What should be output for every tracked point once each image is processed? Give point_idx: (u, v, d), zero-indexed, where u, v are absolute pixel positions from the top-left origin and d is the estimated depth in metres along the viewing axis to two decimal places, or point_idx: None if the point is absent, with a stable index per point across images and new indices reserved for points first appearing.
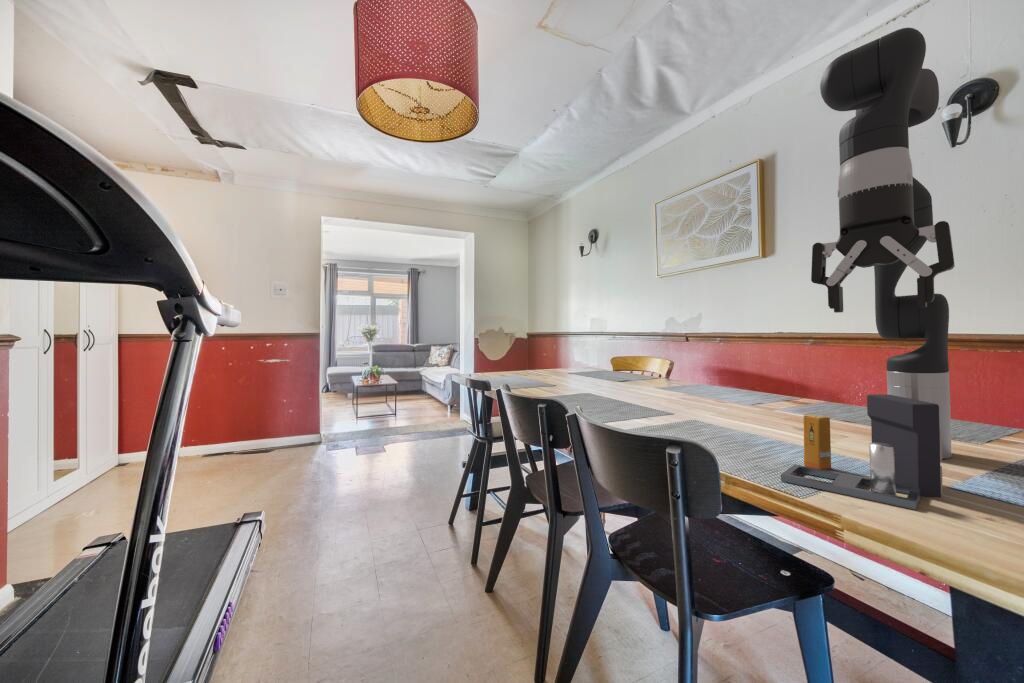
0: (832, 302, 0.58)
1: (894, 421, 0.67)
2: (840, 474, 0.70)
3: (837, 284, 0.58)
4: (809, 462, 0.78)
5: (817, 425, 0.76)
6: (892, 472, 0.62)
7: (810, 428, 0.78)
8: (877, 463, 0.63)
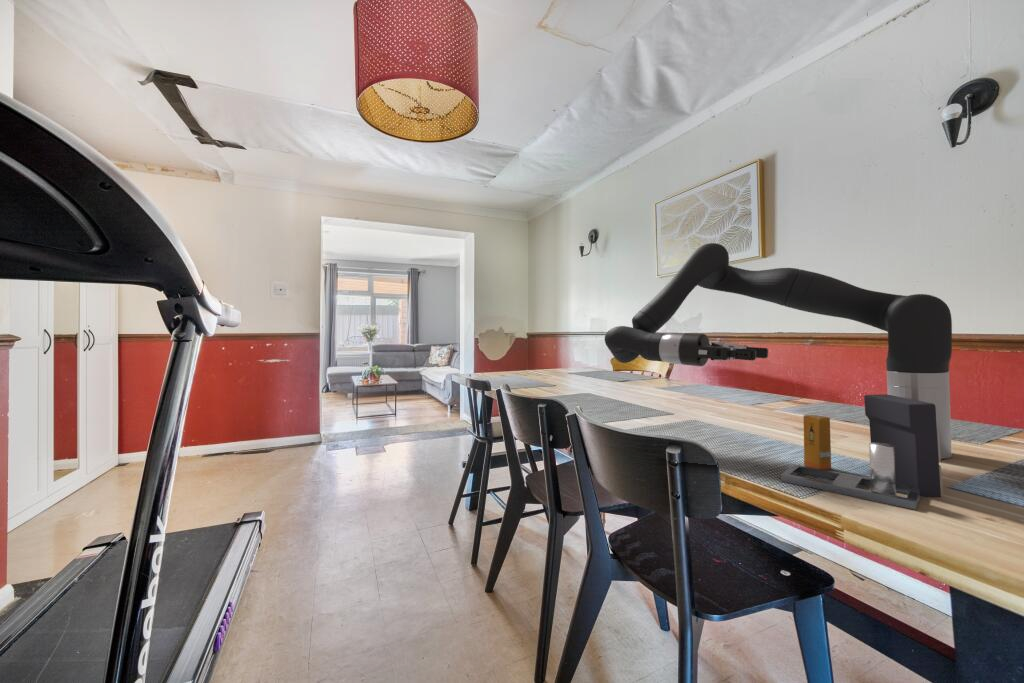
0: None
1: (892, 421, 0.67)
2: (840, 474, 0.70)
3: None
4: (809, 462, 0.78)
5: (817, 425, 0.76)
6: (892, 472, 0.62)
7: (810, 428, 0.78)
8: (877, 463, 0.63)
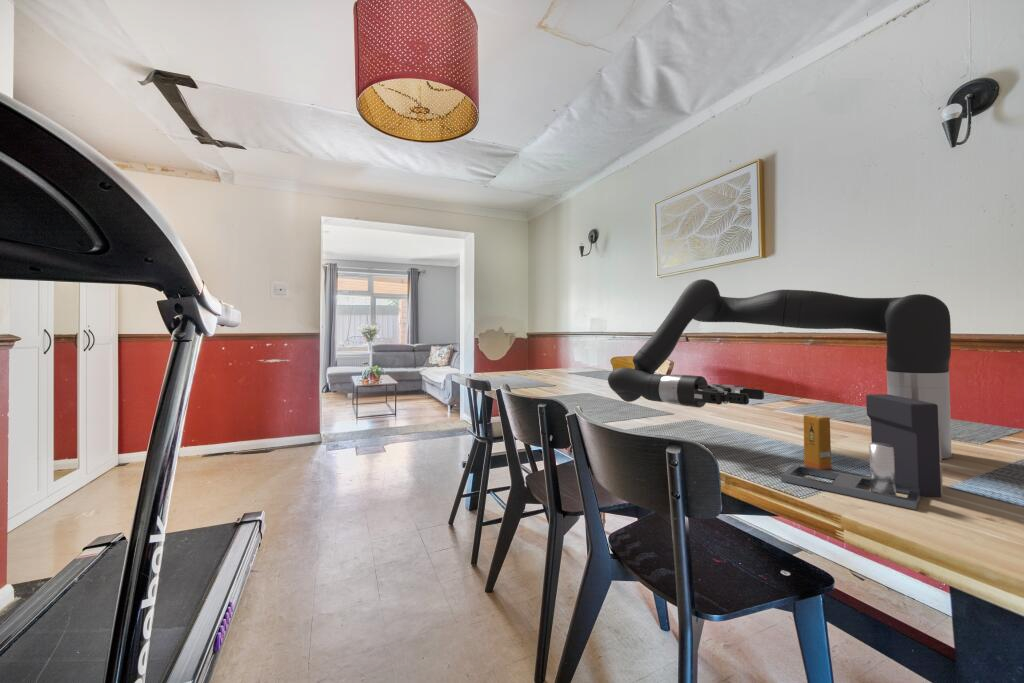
0: None
1: (893, 421, 0.67)
2: (840, 474, 0.70)
3: None
4: (809, 462, 0.78)
5: (817, 425, 0.76)
6: (892, 472, 0.62)
7: (810, 428, 0.78)
8: (877, 463, 0.63)
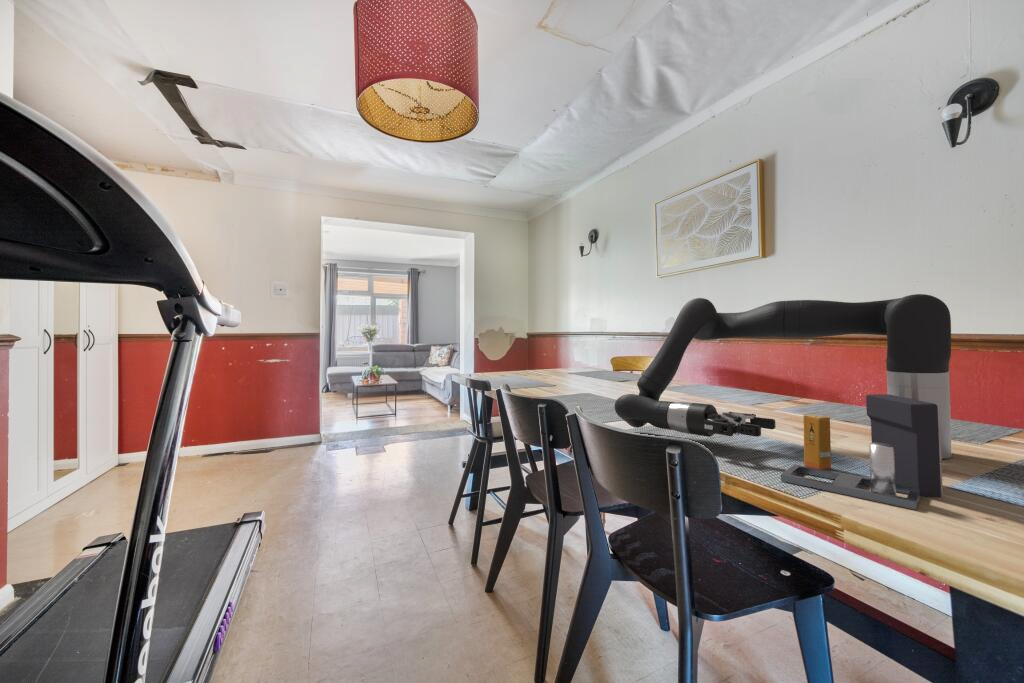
0: None
1: (893, 421, 0.67)
2: (840, 474, 0.70)
3: (754, 425, 0.90)
4: (809, 462, 0.78)
5: (817, 425, 0.76)
6: (892, 472, 0.62)
7: (810, 428, 0.78)
8: (877, 463, 0.63)
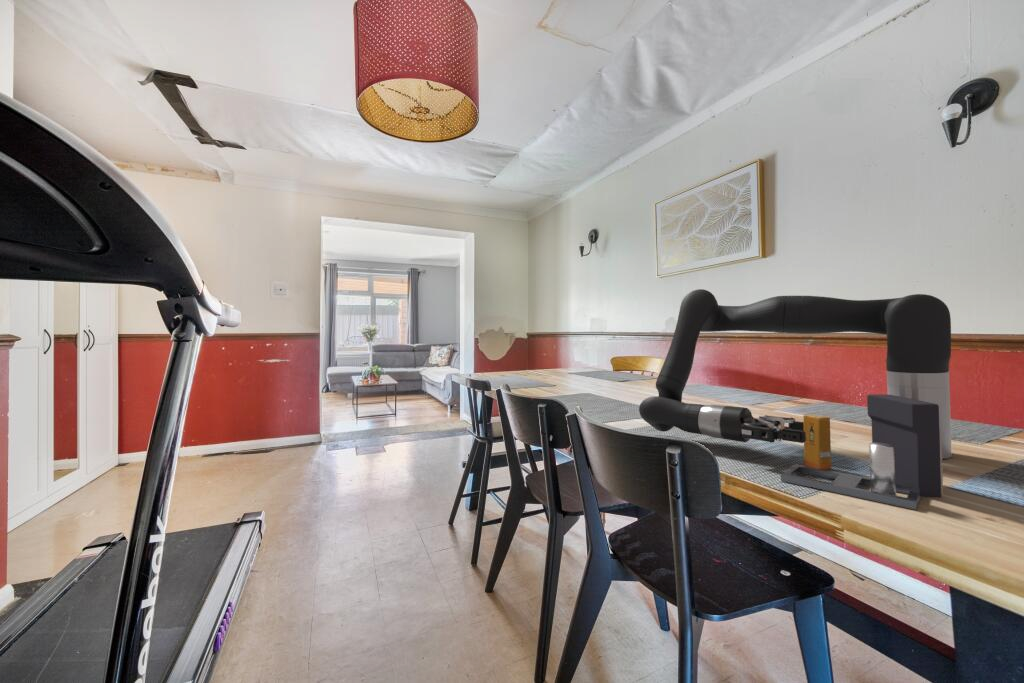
0: None
1: (894, 421, 0.67)
2: (840, 474, 0.70)
3: (794, 429, 0.84)
4: (809, 462, 0.78)
5: (817, 425, 0.76)
6: (892, 472, 0.62)
7: (810, 428, 0.78)
8: (877, 463, 0.63)
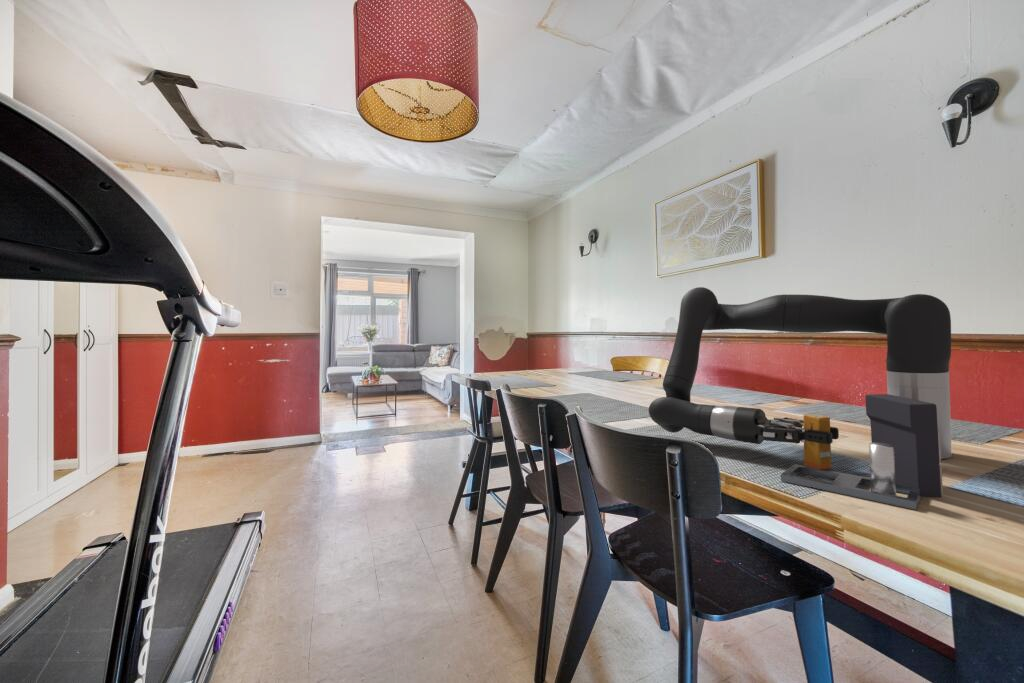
0: None
1: (892, 421, 0.67)
2: (840, 474, 0.70)
3: None
4: (809, 462, 0.78)
5: (817, 425, 0.76)
6: (892, 472, 0.62)
7: (810, 428, 0.77)
8: (877, 463, 0.63)
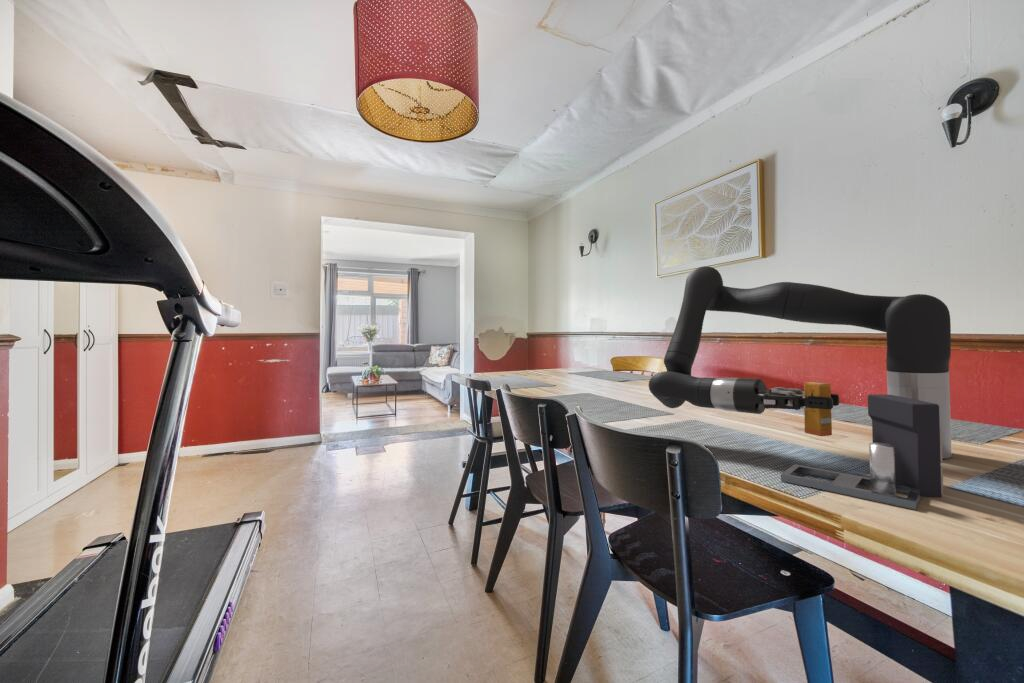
0: None
1: (894, 421, 0.67)
2: (840, 474, 0.70)
3: None
4: (810, 429, 0.77)
5: (818, 391, 0.76)
6: (892, 472, 0.62)
7: (810, 395, 0.77)
8: (877, 463, 0.63)
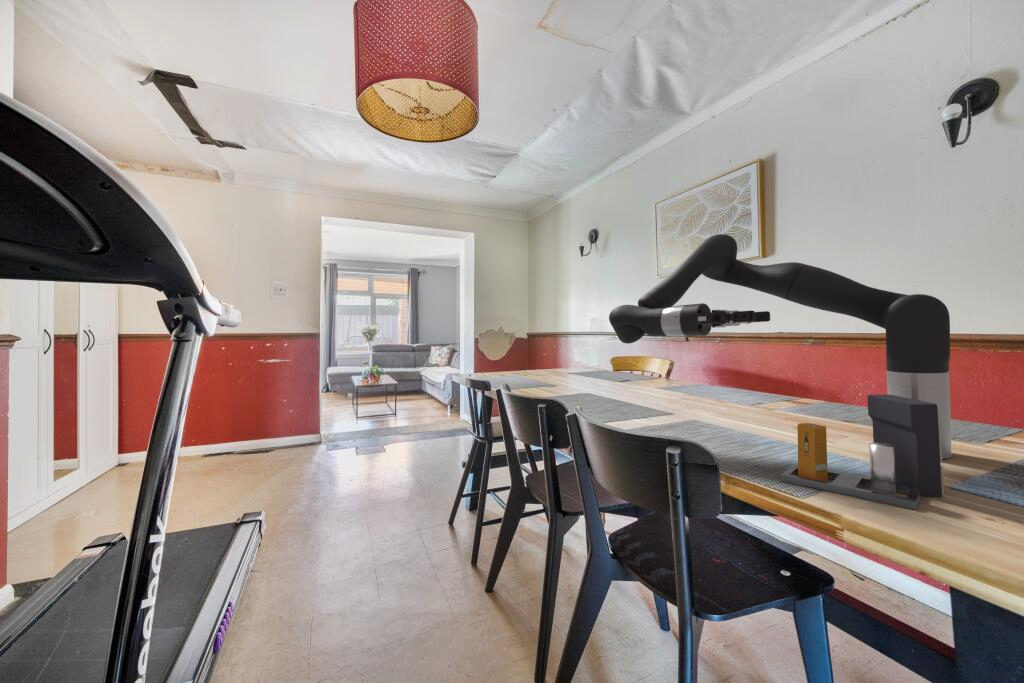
0: None
1: (894, 421, 0.67)
2: (840, 474, 0.70)
3: None
4: (803, 475, 0.71)
5: (812, 435, 0.69)
6: (892, 472, 0.62)
7: (804, 438, 0.71)
8: (877, 463, 0.63)
